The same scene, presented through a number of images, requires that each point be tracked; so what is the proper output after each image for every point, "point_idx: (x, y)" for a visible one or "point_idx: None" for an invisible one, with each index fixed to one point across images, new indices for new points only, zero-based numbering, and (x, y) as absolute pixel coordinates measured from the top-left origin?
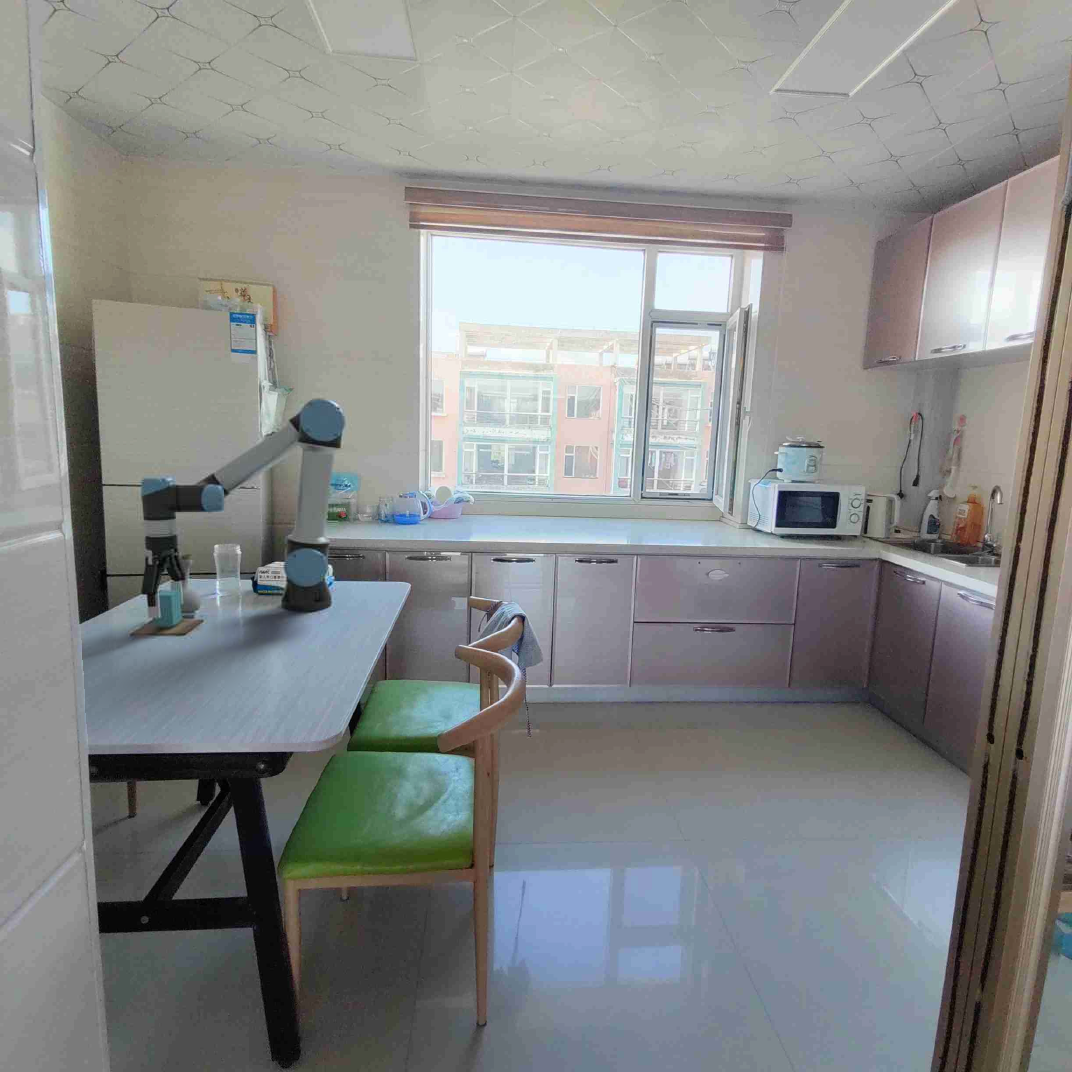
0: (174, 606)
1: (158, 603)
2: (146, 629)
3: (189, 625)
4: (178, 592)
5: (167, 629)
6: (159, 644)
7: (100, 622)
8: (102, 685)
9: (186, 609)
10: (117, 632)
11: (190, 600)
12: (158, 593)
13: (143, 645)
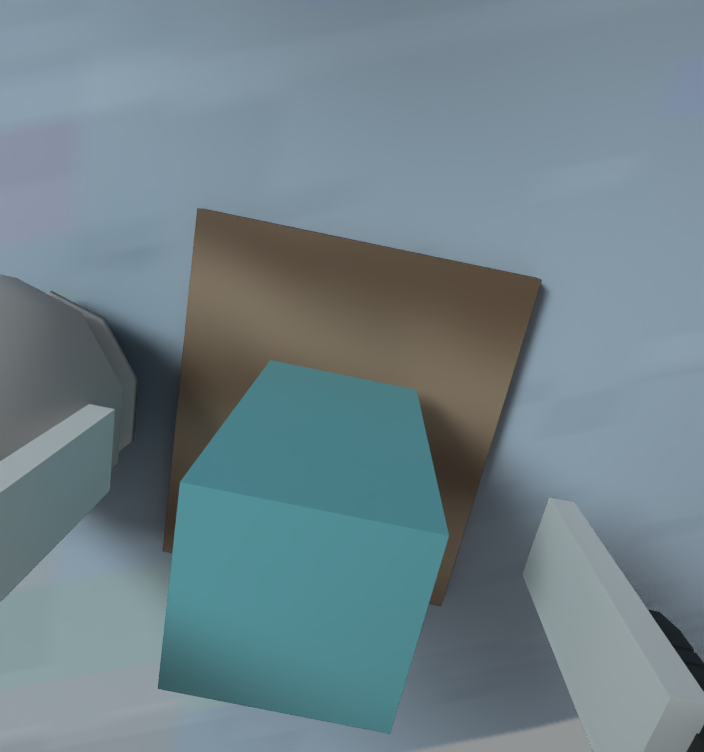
0: (375, 441)
1: (636, 598)
2: None
3: (346, 288)
4: (229, 479)
5: None
6: (689, 406)
7: None
8: None
9: (106, 362)
10: None
11: (27, 350)
12: (667, 702)
13: (668, 491)
